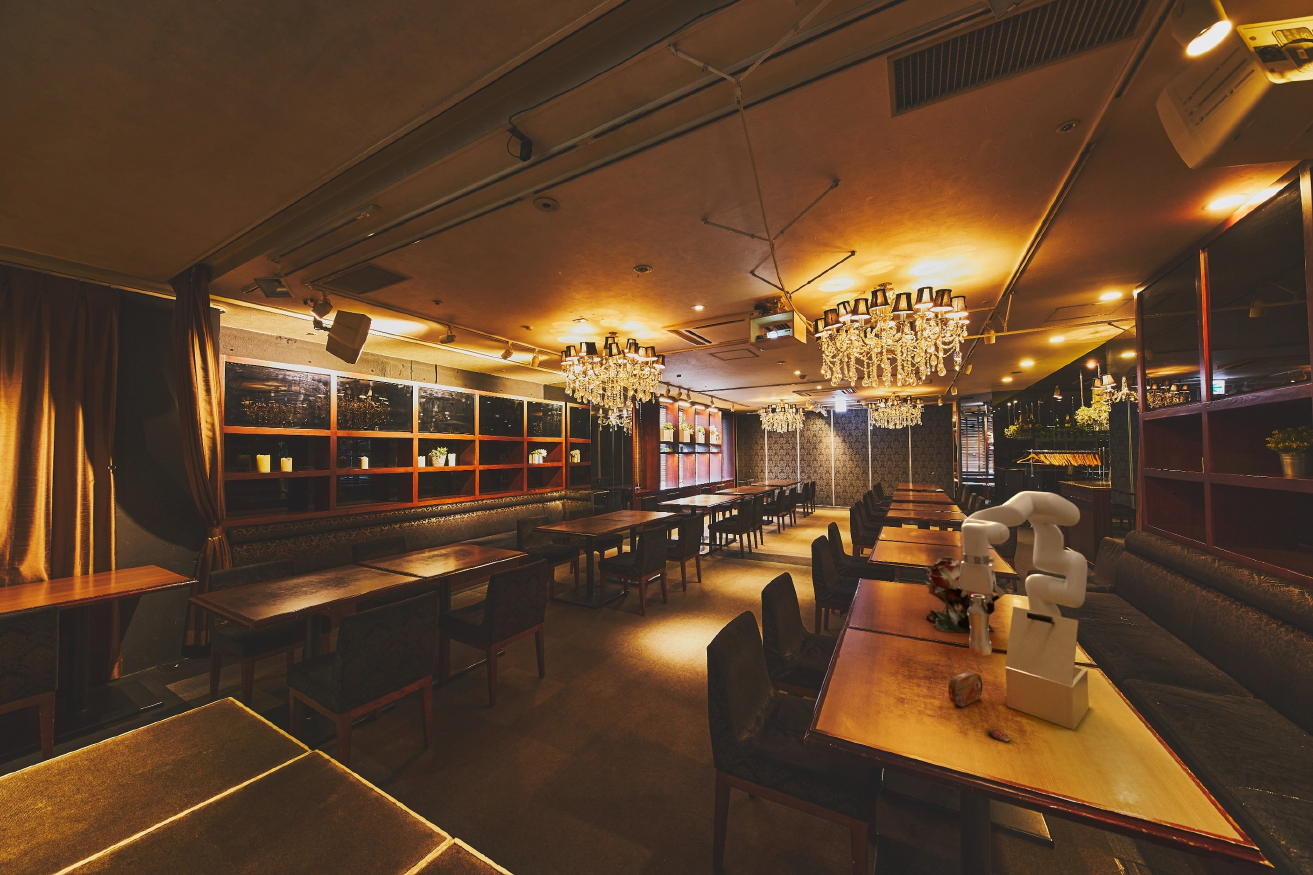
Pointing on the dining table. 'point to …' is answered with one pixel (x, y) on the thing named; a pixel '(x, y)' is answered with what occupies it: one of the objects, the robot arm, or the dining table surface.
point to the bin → (1049, 696)
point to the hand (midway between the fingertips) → (978, 610)
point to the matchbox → (998, 734)
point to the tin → (965, 688)
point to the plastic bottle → (979, 626)
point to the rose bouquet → (949, 596)
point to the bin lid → (1042, 645)
